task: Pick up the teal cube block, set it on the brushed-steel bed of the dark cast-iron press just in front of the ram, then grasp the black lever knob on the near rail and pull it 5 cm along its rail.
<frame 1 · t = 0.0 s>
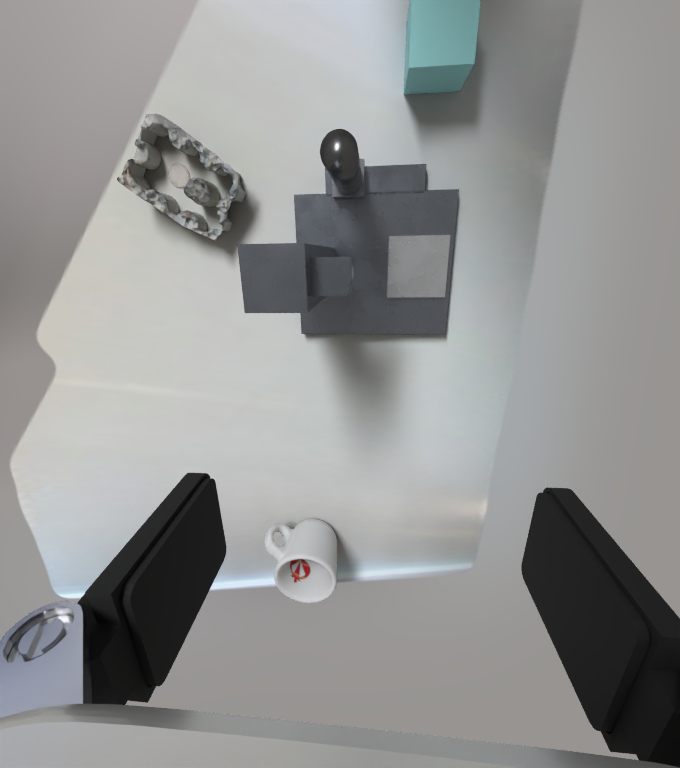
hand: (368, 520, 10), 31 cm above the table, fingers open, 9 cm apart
egg carton: (196, 184, 36), on the table
lever: (344, 168, 29), point 6 cm above the table, slide at 0.0 cm
teal cube block: (433, 58, 31), on the table
press: (373, 267, 37), on the table
cup: (307, 527, 51), on the table
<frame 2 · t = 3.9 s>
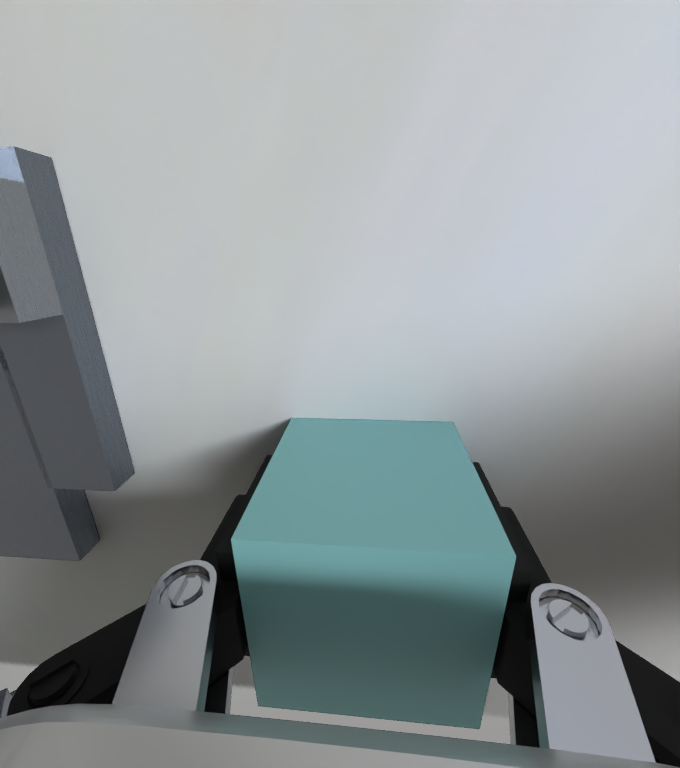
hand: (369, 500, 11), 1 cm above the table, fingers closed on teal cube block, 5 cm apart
teal cube block: (369, 486, 12), on the table, touching gripper
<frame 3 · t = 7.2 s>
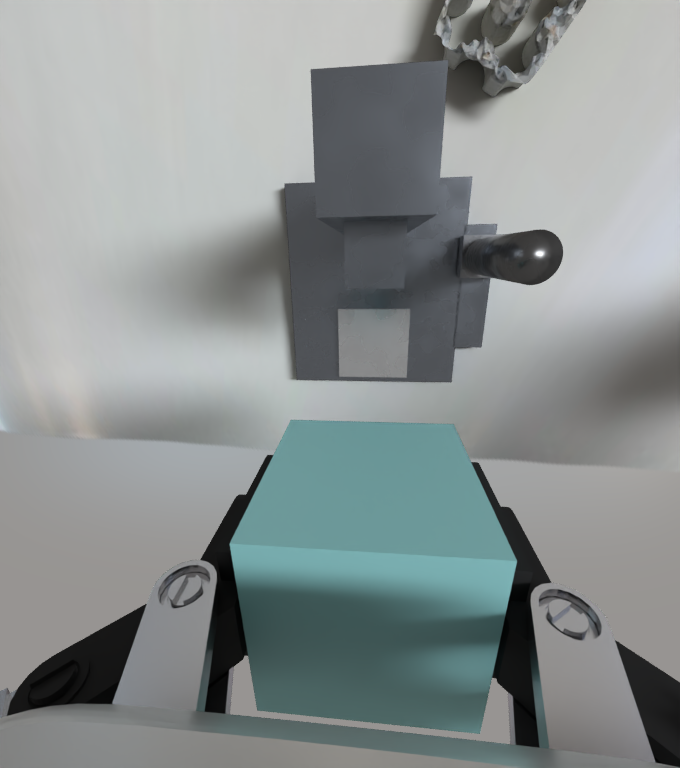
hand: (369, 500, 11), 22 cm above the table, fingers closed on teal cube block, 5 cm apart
lever: (500, 257, 22), point 6 cm above the table, slide at 0.0 cm
teal cube block: (369, 489, 12), point 21 cm above the table, touching gripper
press: (374, 289, 30), on the table
when the fingers open (3 cm above the table, at t = 10.8 s): teal cube block drops 1 cm, resting on press.
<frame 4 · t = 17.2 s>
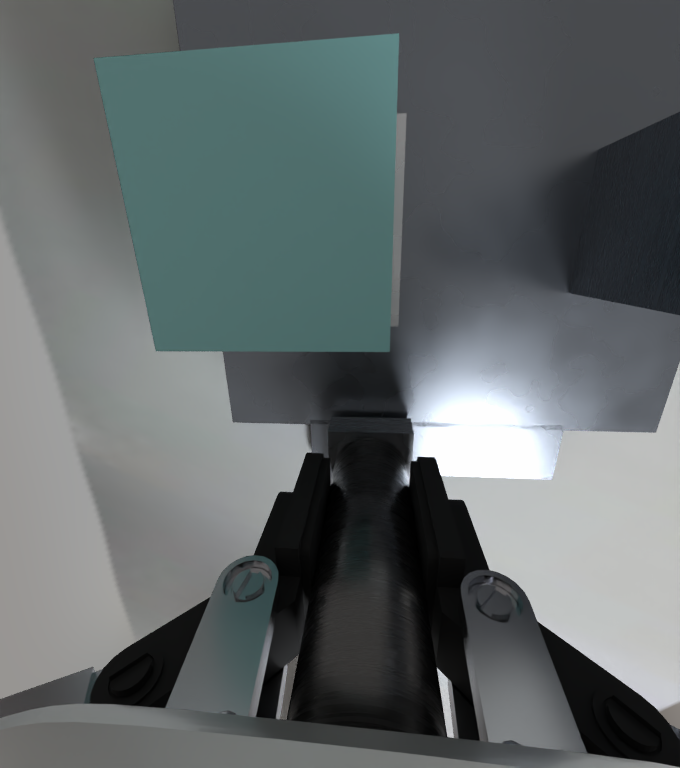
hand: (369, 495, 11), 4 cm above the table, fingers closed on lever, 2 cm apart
lever: (368, 556, 9), point 6 cm above the table, slide at 4.9 cm, touching gripper
teal cube block: (306, 234, 11), point 1 cm above the table, touching press
press: (443, 231, 12), on the table
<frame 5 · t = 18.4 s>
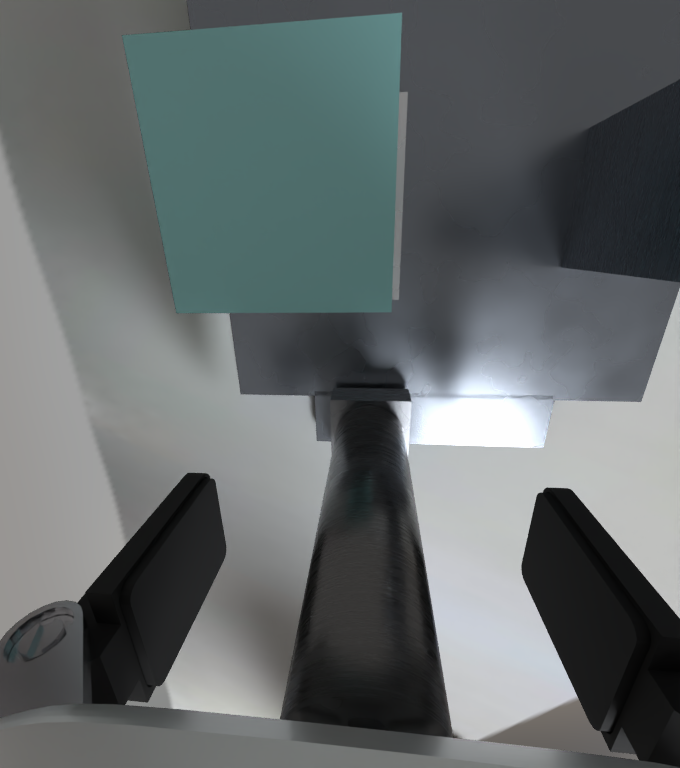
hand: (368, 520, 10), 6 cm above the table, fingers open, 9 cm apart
lever: (368, 507, 10), point 6 cm above the table, slide at 5.0 cm
teal cube block: (311, 210, 12), point 1 cm above the table, touching press
press: (441, 208, 12), on the table
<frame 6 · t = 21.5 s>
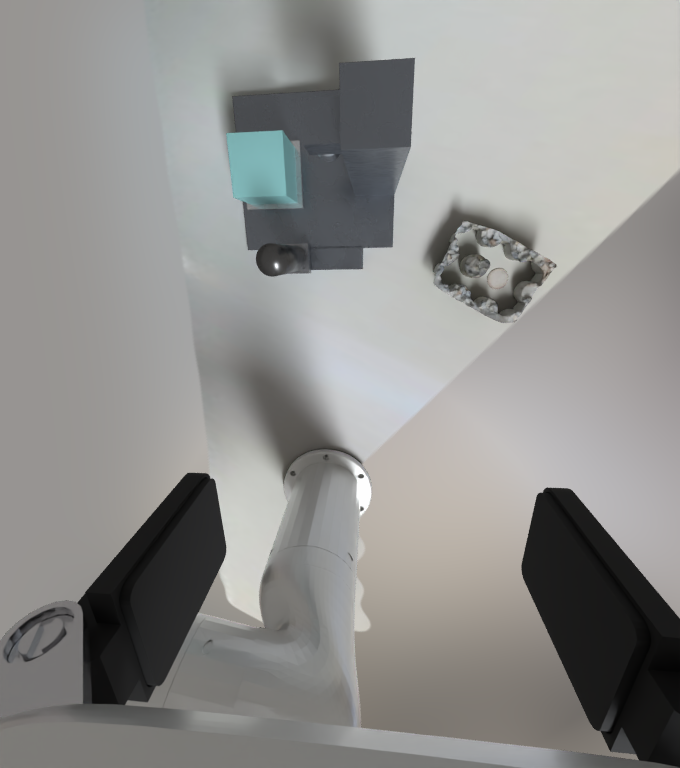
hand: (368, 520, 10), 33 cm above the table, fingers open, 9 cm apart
egg carton: (482, 273, 39), on the table
lever: (285, 259, 34), point 6 cm above the table, slide at 5.0 cm
teal cube block: (272, 176, 36), point 1 cm above the table, touching press
press: (317, 177, 37), on the table
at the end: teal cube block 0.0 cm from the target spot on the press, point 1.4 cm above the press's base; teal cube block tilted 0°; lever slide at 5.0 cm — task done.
